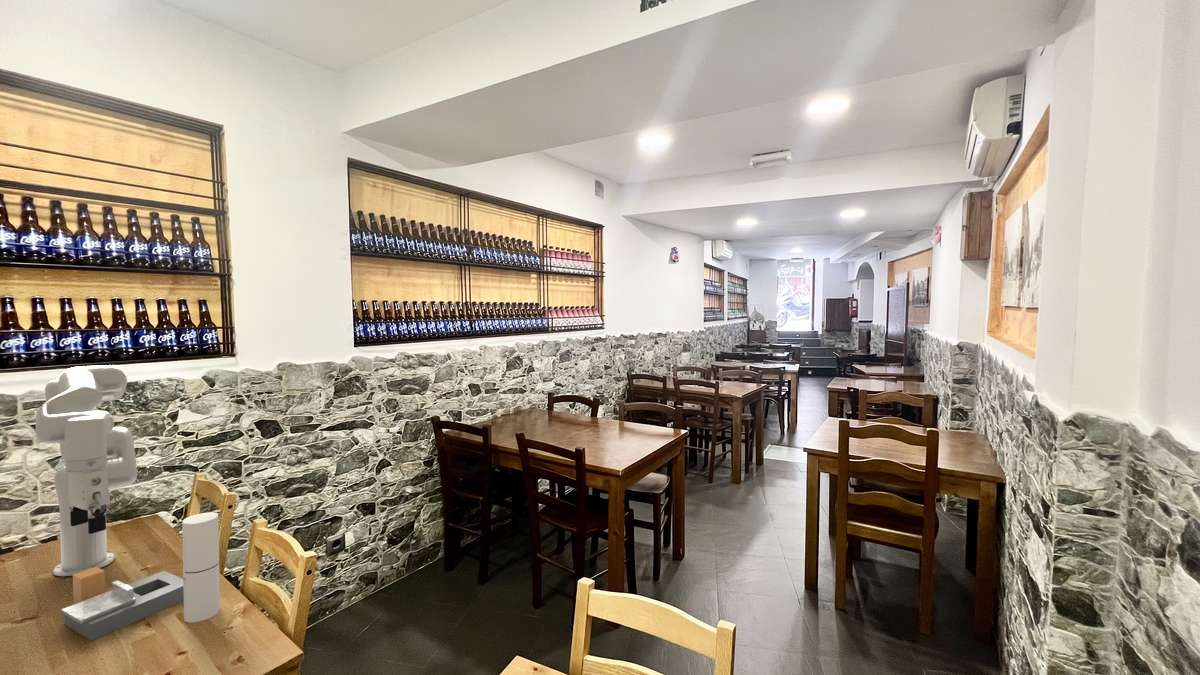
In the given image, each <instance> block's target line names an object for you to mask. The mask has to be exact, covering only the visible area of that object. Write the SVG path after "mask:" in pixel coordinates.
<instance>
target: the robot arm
mask: <svg viewBox="0 0 1200 675" xmlns="http://www.w3.org/2000/svg"><path fill="white" fill-rule="evenodd" d="M127 376H128V375H127V373H126V371H125V369H124V368H123V367H121V366H119V365H115V364H112V365H111V364H109V365H107V364H106V365H103V364H102V365H86V366H85V365H83V366H74V367H70V368H67V369H66V370H64V371H62V372H61V373H60V375H59V376H58V378H56V379H53V380H50V381H49V382H47V383H46V385H45V387H44V395H45V400H46V402H44V403H43V404H42V405H41V406H40V407H39V408H38V410H37V412H36V416H35V436H36V438H37V439H38V440H39V441H40V442H41V443H43V444H59V450H60V456H61V458H62V459H63V460H64V461H65V462H64V464H65V465H64V466H62V467H60V468H59V469H57V471H56V472H55V474H54V477H53V483H54V487H55V492H56V495H57V500H58V509H59V510H58V511H59V532H60V537H59V538H60V561H61V563H59V564H57V565H56V566H55V567H54V568H53V575H54V576H57V577H71V576H72V577H73V575H74V574H77V573H80V572H83V571H86V570H88V569H91V568H94V567H98V568H100V569H102V568H103V567H106V566H108V565H110V564H111V563H112V562H114V560H115V554H114V553H112V552H108V548H107V547H108V545H107V544H108V542H107V540H108V539H107V538H108V537H107V510H108V509H107V506H108V505H110V501H111V500H110V498H111V497H110V490H115V489H119V488H125V487H127V486H128V487H129V486H131V485H133V484H134V483H135V481H136V480H137V477H138V468H137V467H138V466H137V464H138V463H137V458H136V451H135V442H134V436H133V433H132V431H131V430H130V429H129V428H127V427H123V426H115V419H114V416H113V415H112V414H111V413H109V411H107V410H94V409H95V408H97V407H98V406H99V405H100V404H101V402H108V401H116V400H119V399H121V398H122V397H123V396H124V394H125V392H126V389H127V385H128V377H127Z"/></svg>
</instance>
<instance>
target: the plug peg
mask: <svg viewBox="0 0 1200 675" xmlns="http://www.w3.org/2000/svg"><path fill="white" fill-rule="evenodd" d="M103 593H106V571H105V570H104V569H102V568H98V567H94V568H91V569H88V570H86V571H83V572H80V573H77V574H74V575H73V576H72V595H73V598H72V599H73V602H72V603H73V604H72V605H74V604H77V603H80V602H82V601H85V600H87V599H90V598H93V597H95V596H98V595H101V594H103Z"/></svg>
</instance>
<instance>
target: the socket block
mask: <svg viewBox="0 0 1200 675" xmlns="http://www.w3.org/2000/svg"><path fill="white" fill-rule="evenodd" d="M126 585H129V586H131V587H133V592H134V598H136V602H134V603H131V604H129V605H126V606H124V607H121V608H119V609H116V610H114V611H111V612H109V613H107V614H104V615H102V616H99V617H97V618H94V619H92V620H89V621H87V622H85V623H82V624H80V623H78V622H77V621H75V620H73V619H72V618H70V617H68V616H66V615H65V614H63V622H64V623H63V625H65V627H68V628H70V629H72V630H73V631H75V632H76V633H77V634H79V635H81V636H82V637H84V638H86V640H89V641H91V642H92V641H95V640H97V639H99V638H101V637H104V636H106V635H108V634H111V633H113V632H115V631H118V630H120V629H122V628H124V627H127V626H129V625H131V624H133V623H136V622H139V621H140V620H143V619H144V618H147V617H149V616H151V615H154V614H156V613H159V612H160V611H163V610H166V609H168V608H170V607H173V606H175V605H177V604H180V603H182V602H184V590H183V578H182V577H180V576H177V575H175V574H172V573H170V572H168V571H166V570H162V571H160V572H156V573H154V574H152V575H151V574H150V575H149V576H145V577H143V578H141V579H138V580H136V581H132V582H129V583H128V584H126Z"/></svg>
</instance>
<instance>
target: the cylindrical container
mask: <svg viewBox="0 0 1200 675" xmlns="http://www.w3.org/2000/svg"><path fill="white" fill-rule="evenodd" d="M219 522H220V520H219V513H218V512H214V511H212V512H202V513H197V514H196V513H195V514H193V515H190V516H188V517H186V518H184V519H183V520H182V522H181V525H182V526H181V528H182V529H181V530H182V571H183V572H182V574H183V575H182V577H183V578H182V579H183V590H184V601H183V620H184V622H186V623H190V624H192V623H199V622H203V621H206V620H208V619H211V618H213V617H214V616H216V615H217V614H218V613H220V611H221V601H220V600H221V594H220V593H221V591H220V587H221V586H220V584H221V583H220V535H219V534H220V533H219V532H220V531H219V529H220V527H219V525H220V524H219Z"/></svg>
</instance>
